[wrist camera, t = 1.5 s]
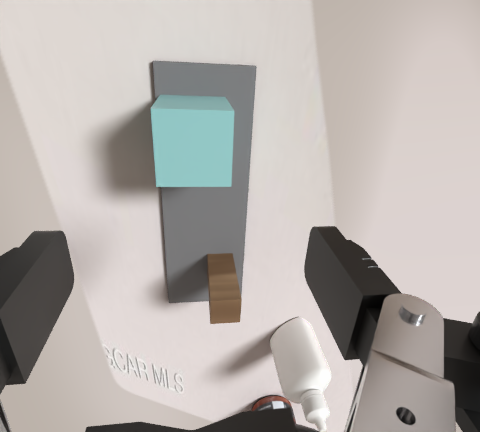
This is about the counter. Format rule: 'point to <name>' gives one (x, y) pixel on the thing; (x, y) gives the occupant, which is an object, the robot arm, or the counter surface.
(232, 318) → the post
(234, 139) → the mat
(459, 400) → the robot arm
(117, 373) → the counter surface
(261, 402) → the supplement bottle
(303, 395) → the eye dropper bottle
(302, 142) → the counter surface
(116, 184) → the counter surface
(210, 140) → the teal rectangular block
